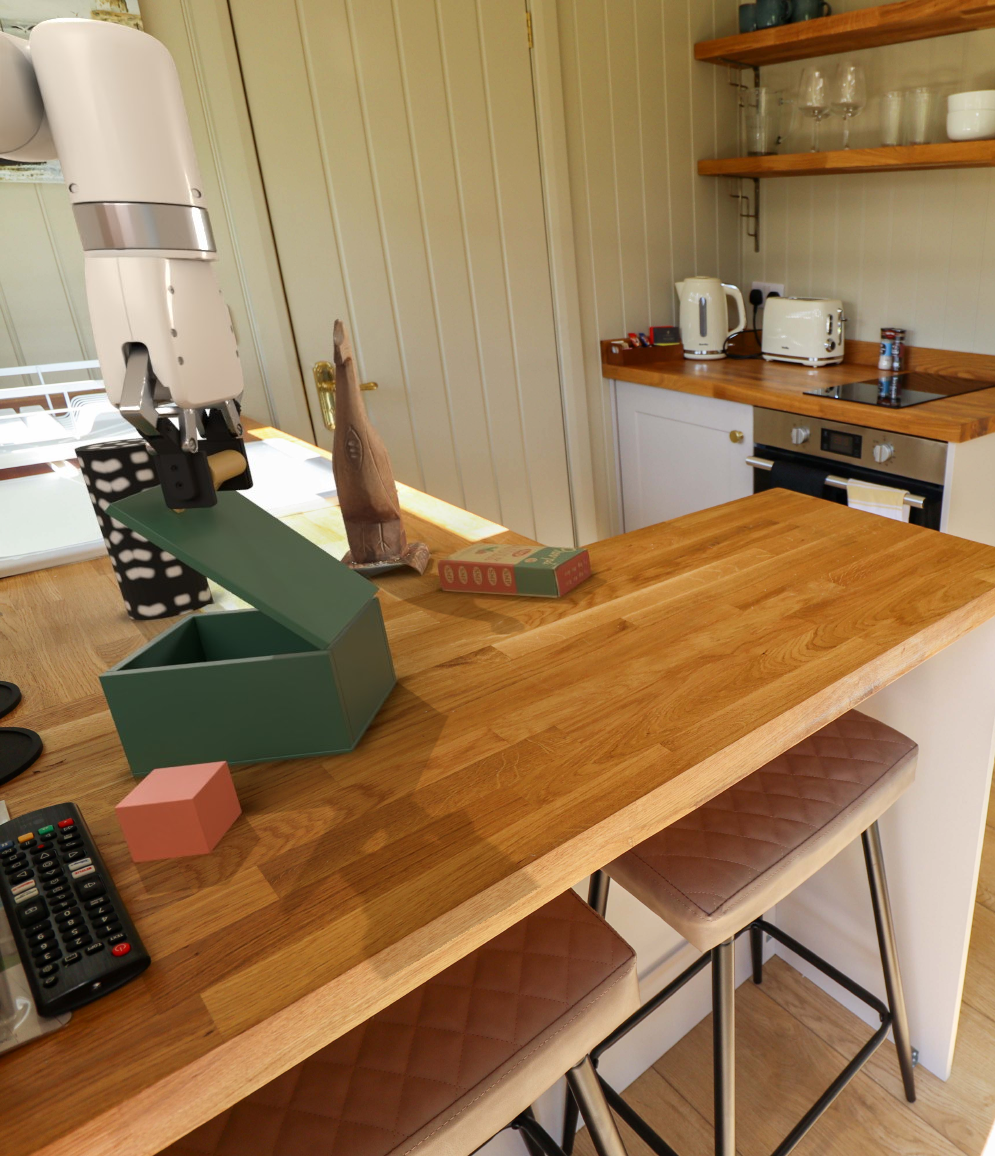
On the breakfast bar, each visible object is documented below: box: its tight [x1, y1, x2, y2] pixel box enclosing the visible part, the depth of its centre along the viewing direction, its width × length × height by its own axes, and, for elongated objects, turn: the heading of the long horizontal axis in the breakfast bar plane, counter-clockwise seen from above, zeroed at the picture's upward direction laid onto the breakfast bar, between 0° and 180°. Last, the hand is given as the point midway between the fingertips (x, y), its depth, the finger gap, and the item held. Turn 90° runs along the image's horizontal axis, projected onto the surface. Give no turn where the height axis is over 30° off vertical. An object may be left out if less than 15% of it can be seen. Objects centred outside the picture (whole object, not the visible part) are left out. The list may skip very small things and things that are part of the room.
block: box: [113, 761, 243, 863], centre depth 53 cm, size 4×4×4 cm
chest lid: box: [105, 450, 380, 651], centre depth 63 cm, size 16×13×5 cm
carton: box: [437, 542, 592, 599], centre depth 100 cm, size 8×16×4 cm, turn 74°
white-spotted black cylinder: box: [74, 437, 214, 621], centre depth 95 cm, size 8×8×20 cm
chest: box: [98, 596, 398, 778], centre depth 67 cm, size 16×13×9 cm
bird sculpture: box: [331, 318, 431, 576], centre depth 103 cm, size 11×12×32 cm
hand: (212, 495), depth 62 cm, fingers closed on chest lid, 5 cm apart
